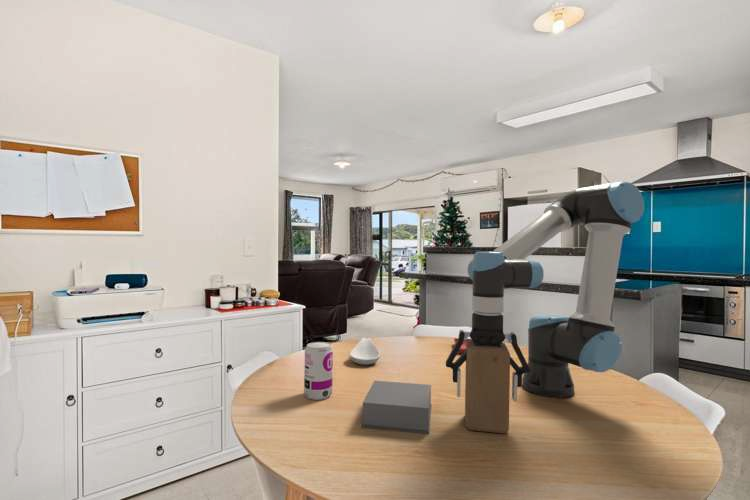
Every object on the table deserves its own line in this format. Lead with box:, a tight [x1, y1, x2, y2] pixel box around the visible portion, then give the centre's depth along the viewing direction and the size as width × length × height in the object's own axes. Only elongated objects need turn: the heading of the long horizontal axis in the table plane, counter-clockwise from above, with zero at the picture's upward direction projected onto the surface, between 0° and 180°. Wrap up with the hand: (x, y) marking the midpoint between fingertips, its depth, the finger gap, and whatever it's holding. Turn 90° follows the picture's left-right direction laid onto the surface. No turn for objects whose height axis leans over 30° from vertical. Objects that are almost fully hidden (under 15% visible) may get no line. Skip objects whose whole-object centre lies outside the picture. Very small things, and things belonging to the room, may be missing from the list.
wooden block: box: [464, 340, 511, 434], centre depth 97 cm, size 10×10×20 cm
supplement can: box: [303, 341, 334, 401], centre depth 114 cm, size 8×8×15 cm
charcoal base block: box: [360, 380, 432, 435], centre depth 101 cm, size 16×16×6 cm
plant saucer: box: [453, 337, 472, 355], centre depth 168 cm, size 18×18×3 cm
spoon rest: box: [349, 337, 381, 366], centre depth 153 cm, size 24×12×7 cm, turn 1°
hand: (486, 397), depth 97 cm, fingers open, 13 cm apart
